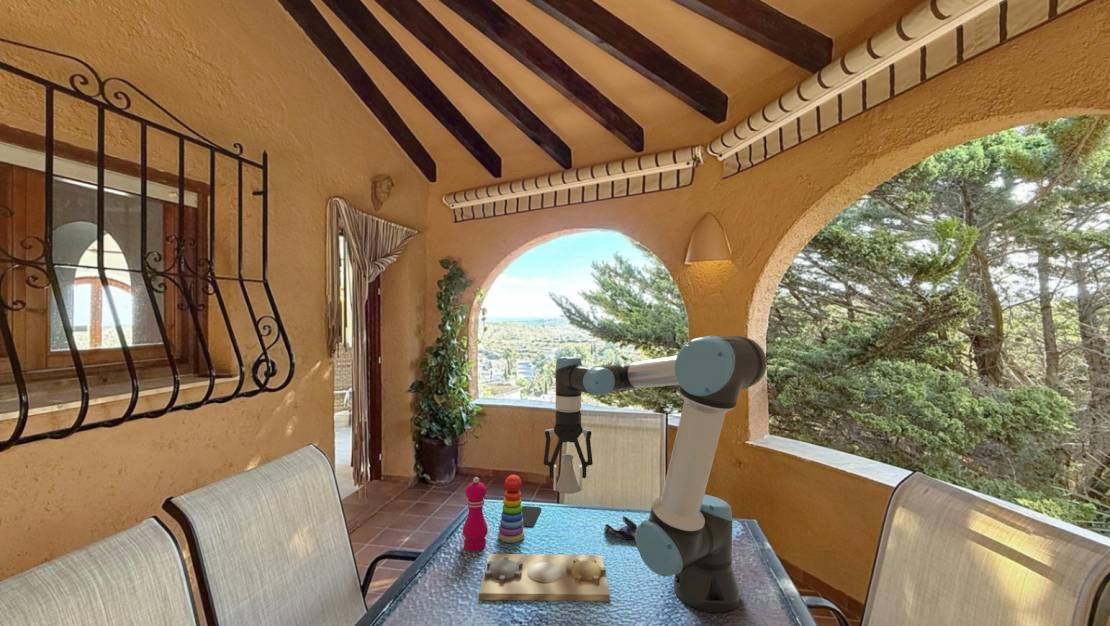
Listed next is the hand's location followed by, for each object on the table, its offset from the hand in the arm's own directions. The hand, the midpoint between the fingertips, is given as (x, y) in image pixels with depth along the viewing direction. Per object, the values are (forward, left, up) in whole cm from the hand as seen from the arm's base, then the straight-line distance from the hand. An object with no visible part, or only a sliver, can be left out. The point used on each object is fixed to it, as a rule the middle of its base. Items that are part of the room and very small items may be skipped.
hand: (567, 488), depth 132 cm
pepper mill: (+19, +19, -17) cm, 32 cm away
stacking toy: (+16, +8, -17) cm, 25 cm away
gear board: (-7, +15, -17) cm, 24 cm away
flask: (0, 0, -1) cm, 1 cm away
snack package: (-7, -19, -18) cm, 27 cm away
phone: (+24, -5, -18) cm, 30 cm away
